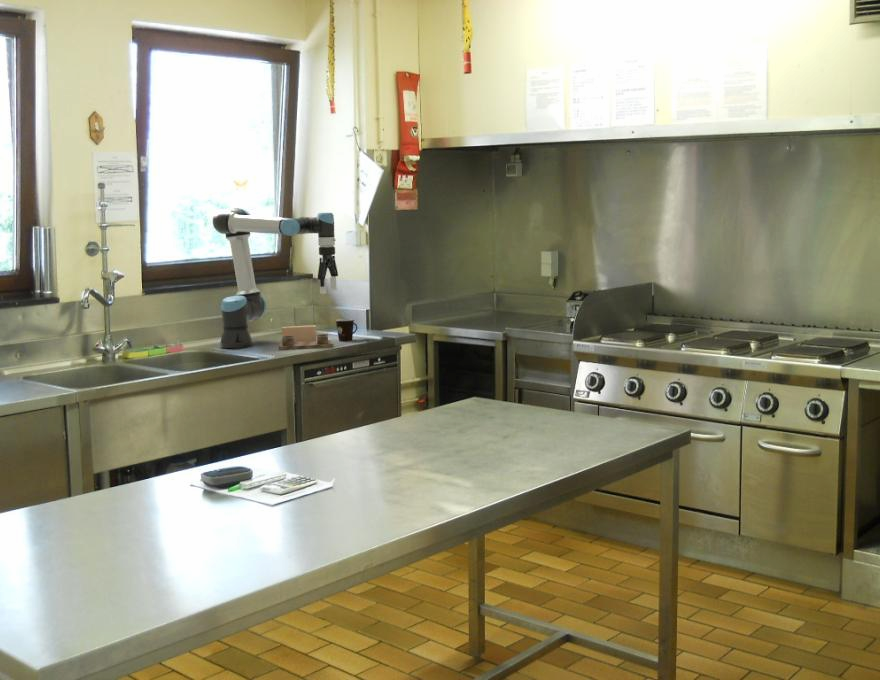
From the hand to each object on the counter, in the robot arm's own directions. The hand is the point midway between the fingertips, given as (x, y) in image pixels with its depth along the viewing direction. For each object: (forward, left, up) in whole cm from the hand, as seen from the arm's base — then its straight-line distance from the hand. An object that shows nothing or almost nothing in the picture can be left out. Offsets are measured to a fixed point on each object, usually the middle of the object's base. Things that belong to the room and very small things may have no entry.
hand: (328, 292), depth 478 cm
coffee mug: (+2, +12, -25) cm, 28 cm away
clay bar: (-18, +2, -25) cm, 31 cm away
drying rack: (-9, -8, -25) cm, 28 cm away
